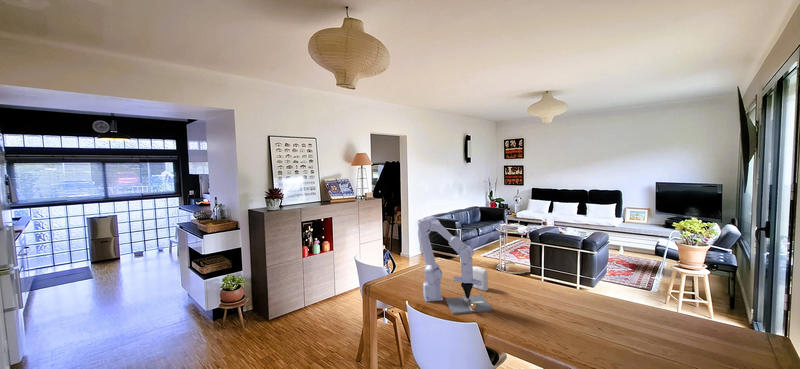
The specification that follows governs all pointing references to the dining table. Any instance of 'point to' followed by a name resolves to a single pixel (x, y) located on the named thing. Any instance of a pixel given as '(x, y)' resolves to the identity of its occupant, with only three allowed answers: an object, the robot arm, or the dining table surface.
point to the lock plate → (461, 307)
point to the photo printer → (480, 278)
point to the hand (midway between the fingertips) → (467, 296)
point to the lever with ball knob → (469, 302)
